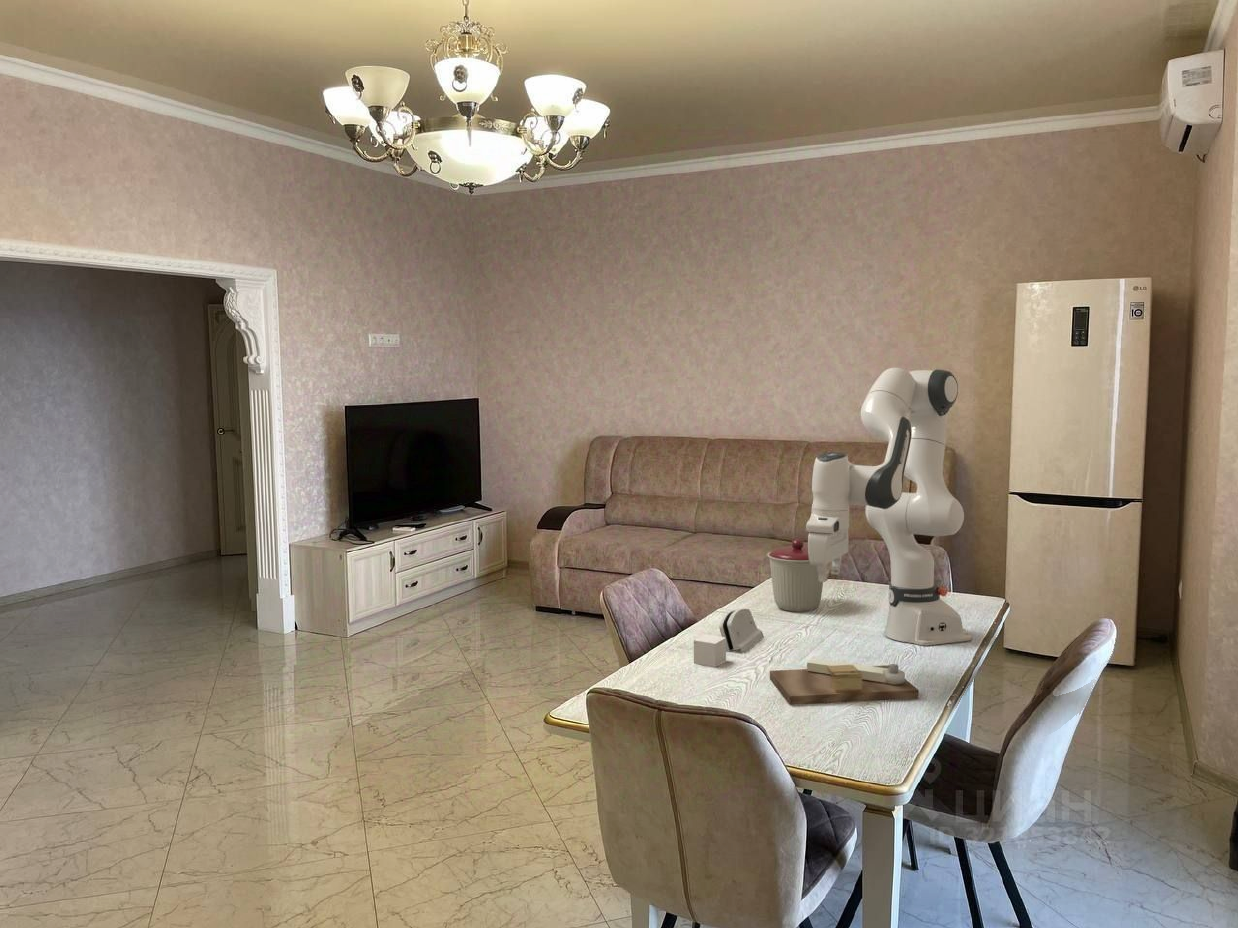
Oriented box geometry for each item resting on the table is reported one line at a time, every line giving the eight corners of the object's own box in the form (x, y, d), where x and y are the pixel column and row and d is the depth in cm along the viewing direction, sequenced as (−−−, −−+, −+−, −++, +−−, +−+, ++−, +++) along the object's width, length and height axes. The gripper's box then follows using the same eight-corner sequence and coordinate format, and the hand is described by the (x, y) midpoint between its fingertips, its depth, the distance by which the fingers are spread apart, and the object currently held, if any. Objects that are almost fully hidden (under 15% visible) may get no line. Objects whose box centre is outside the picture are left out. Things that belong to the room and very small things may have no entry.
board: (888, 673, 220) (889, 665, 219) (918, 698, 203) (918, 689, 203) (769, 678, 217) (769, 670, 217) (789, 705, 200) (789, 696, 200)
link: (906, 679, 209) (907, 663, 208) (901, 685, 204) (902, 670, 204) (812, 665, 219) (812, 650, 219) (806, 671, 215) (806, 656, 215)
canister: (836, 604, 283) (836, 537, 281) (815, 618, 268) (815, 547, 266) (780, 597, 293) (781, 532, 290) (757, 610, 277) (757, 541, 275)
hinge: (743, 654, 236) (731, 616, 237) (727, 657, 238) (715, 620, 239) (764, 636, 251) (752, 601, 251) (748, 640, 253) (737, 605, 254)
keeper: (852, 681, 208) (852, 664, 208) (861, 690, 202) (862, 673, 202) (826, 682, 208) (826, 665, 207) (835, 692, 202) (835, 674, 201)
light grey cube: (715, 667, 226) (715, 643, 226) (693, 663, 229) (693, 640, 229) (726, 660, 231) (726, 637, 231) (704, 656, 235) (704, 633, 234)
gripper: (830, 514, 230) (829, 568, 232) (803, 525, 213) (802, 584, 214) (855, 515, 227) (854, 571, 228) (830, 527, 210) (829, 587, 211)
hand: (829, 577), depth 221 cm, fingers open, 8 cm apart
